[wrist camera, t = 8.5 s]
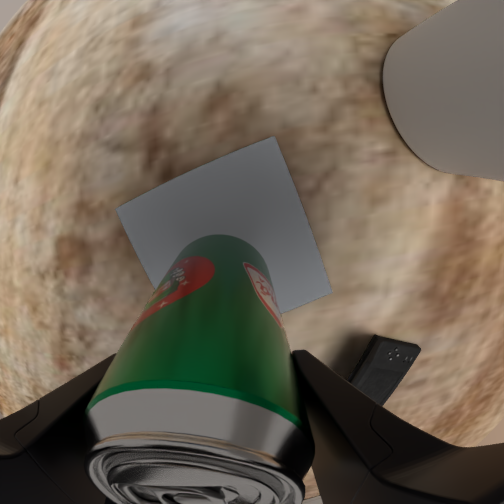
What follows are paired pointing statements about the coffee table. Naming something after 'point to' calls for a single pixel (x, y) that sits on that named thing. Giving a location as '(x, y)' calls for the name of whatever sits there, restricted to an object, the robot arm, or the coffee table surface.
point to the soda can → (203, 391)
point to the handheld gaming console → (383, 367)
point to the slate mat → (232, 220)
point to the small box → (313, 500)
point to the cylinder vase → (452, 88)
